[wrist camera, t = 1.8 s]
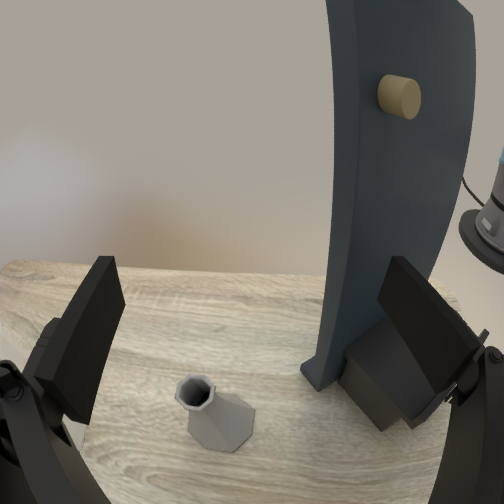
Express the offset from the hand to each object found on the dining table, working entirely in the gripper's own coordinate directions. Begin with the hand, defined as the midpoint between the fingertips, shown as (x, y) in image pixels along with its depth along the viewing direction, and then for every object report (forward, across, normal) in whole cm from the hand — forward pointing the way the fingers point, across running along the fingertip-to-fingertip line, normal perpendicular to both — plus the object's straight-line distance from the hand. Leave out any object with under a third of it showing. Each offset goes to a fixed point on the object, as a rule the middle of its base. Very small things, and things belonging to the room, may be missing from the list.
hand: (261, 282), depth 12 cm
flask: (+3, -2, -21) cm, 22 cm away
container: (+2, -26, -26) cm, 37 cm away
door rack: (+4, +17, -17) cm, 25 cm away
